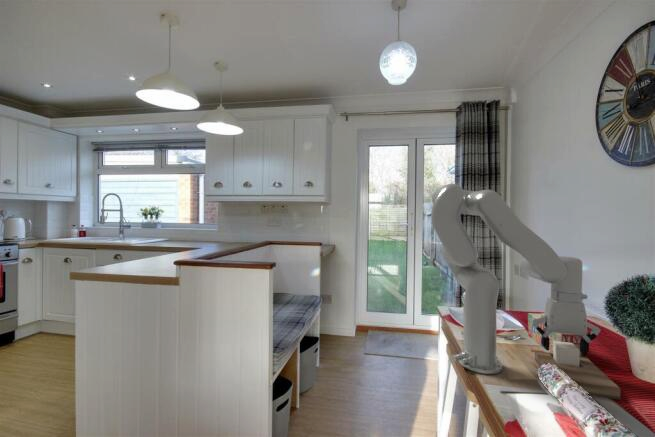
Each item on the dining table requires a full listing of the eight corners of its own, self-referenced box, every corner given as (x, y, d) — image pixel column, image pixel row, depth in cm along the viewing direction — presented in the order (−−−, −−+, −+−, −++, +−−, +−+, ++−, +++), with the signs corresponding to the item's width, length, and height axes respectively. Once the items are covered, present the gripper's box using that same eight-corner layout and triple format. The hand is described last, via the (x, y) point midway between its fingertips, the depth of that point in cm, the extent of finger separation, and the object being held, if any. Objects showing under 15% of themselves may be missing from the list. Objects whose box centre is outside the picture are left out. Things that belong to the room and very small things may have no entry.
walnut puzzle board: (620, 399, 78) (620, 388, 78) (556, 389, 83) (556, 378, 83) (586, 366, 95) (586, 357, 95) (535, 359, 100) (535, 350, 99)
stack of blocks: (527, 335, 120) (527, 305, 119) (544, 336, 119) (544, 306, 119) (561, 361, 98) (561, 324, 98) (582, 363, 98) (582, 325, 97)
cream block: (579, 372, 90) (579, 349, 90) (559, 369, 91) (559, 347, 91) (572, 364, 94) (572, 343, 94) (553, 362, 96) (553, 340, 96)
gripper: (594, 296, 93) (592, 350, 94) (529, 291, 99) (528, 342, 99) (607, 303, 86) (605, 361, 87) (537, 296, 92) (535, 351, 92)
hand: (564, 351), depth 93 cm, fingers open, 9 cm apart
